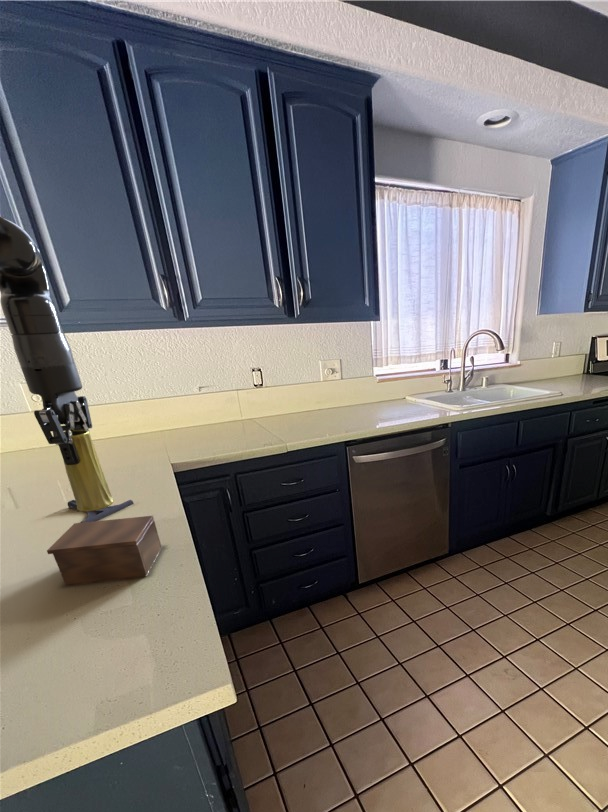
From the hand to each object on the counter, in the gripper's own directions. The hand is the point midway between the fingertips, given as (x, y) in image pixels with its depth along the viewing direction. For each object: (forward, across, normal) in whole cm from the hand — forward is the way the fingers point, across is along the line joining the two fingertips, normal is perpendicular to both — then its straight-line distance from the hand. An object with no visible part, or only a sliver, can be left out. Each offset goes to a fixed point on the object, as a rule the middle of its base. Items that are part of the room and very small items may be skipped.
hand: (80, 458), depth 79 cm
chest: (+24, 0, 0) cm, 24 cm away
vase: (+10, 0, 0) cm, 10 cm away
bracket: (+24, -32, -17) cm, 44 cm away
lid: (+16, 0, 0) cm, 16 cm away
